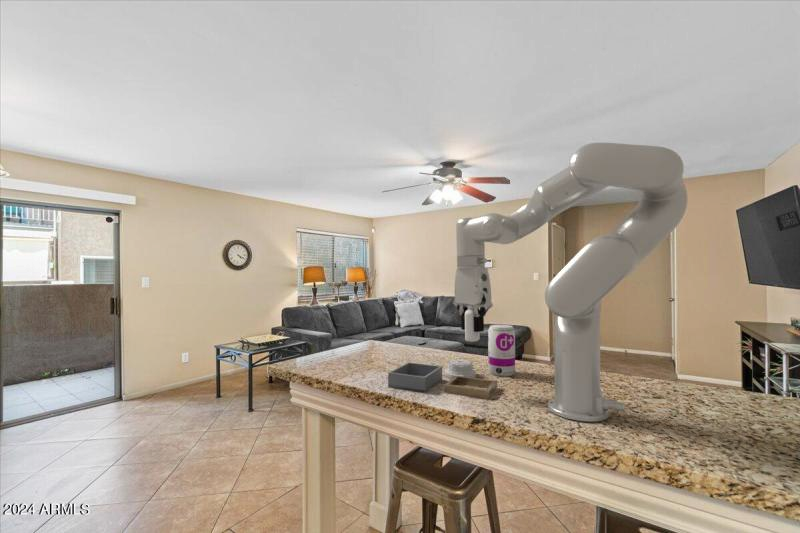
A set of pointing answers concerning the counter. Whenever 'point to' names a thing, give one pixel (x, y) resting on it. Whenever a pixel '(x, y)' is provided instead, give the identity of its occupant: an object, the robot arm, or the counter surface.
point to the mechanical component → (460, 369)
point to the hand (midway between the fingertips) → (472, 329)
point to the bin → (415, 377)
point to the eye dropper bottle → (470, 325)
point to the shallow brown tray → (472, 392)
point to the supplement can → (501, 350)
